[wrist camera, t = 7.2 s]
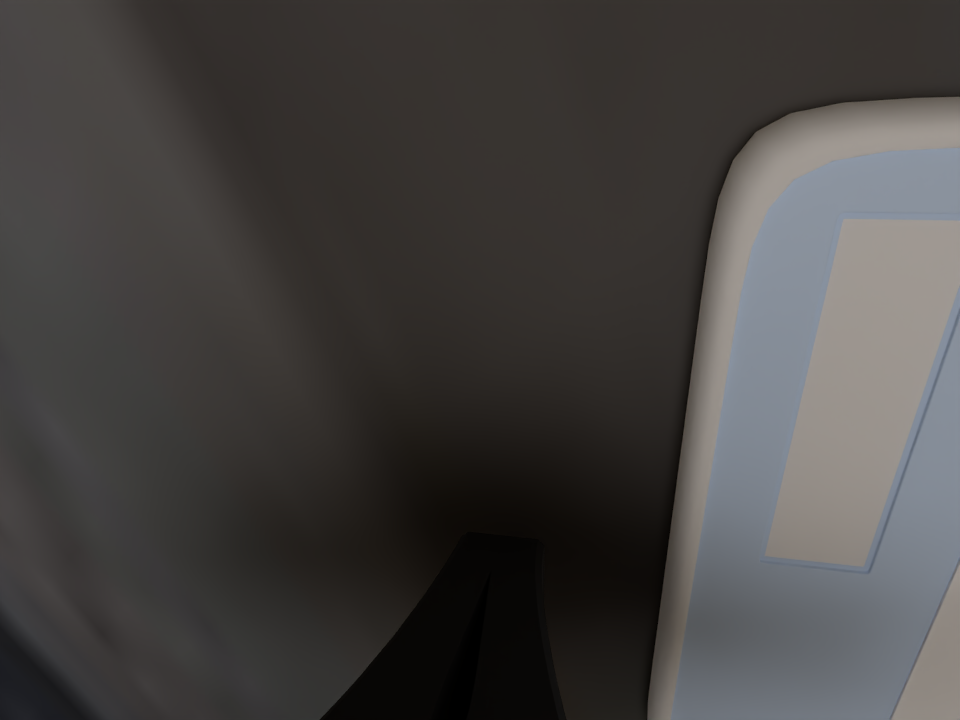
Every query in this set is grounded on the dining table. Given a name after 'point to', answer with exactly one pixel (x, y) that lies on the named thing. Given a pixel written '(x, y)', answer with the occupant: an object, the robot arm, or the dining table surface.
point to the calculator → (823, 431)
